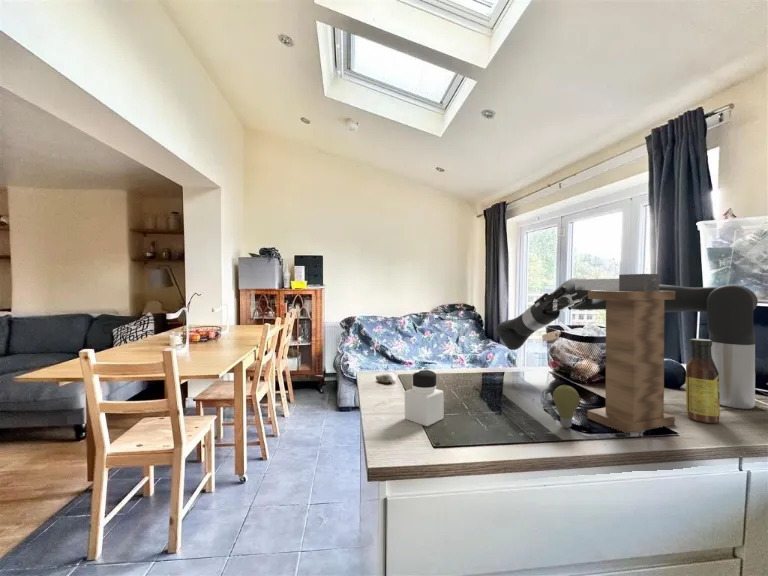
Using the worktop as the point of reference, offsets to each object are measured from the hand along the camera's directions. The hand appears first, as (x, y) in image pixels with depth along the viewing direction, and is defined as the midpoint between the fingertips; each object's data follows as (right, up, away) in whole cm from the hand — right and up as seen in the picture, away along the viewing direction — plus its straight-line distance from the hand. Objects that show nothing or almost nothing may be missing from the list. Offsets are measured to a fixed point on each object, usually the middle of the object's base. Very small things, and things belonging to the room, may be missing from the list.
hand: (577, 289), depth 102 cm
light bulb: (-12, -33, -18) cm, 39 cm away
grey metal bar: (+4, 0, -10) cm, 10 cm away
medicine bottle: (-45, -33, -12) cm, 57 cm away
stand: (+5, -32, -14) cm, 36 cm away
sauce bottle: (+24, -32, -13) cm, 42 cm away
